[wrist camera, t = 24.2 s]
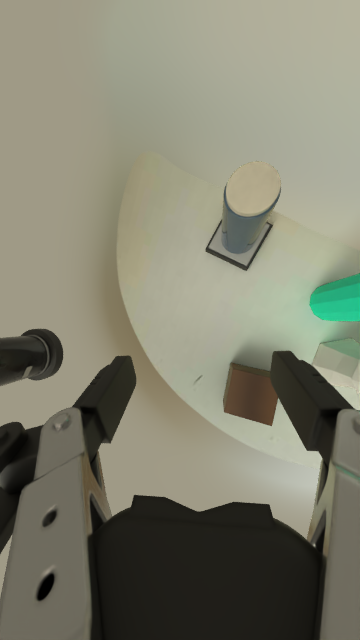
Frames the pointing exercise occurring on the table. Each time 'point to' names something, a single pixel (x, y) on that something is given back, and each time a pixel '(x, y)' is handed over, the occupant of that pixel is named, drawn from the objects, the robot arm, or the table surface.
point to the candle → (338, 300)
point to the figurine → (339, 363)
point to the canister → (248, 205)
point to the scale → (236, 259)
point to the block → (250, 394)
